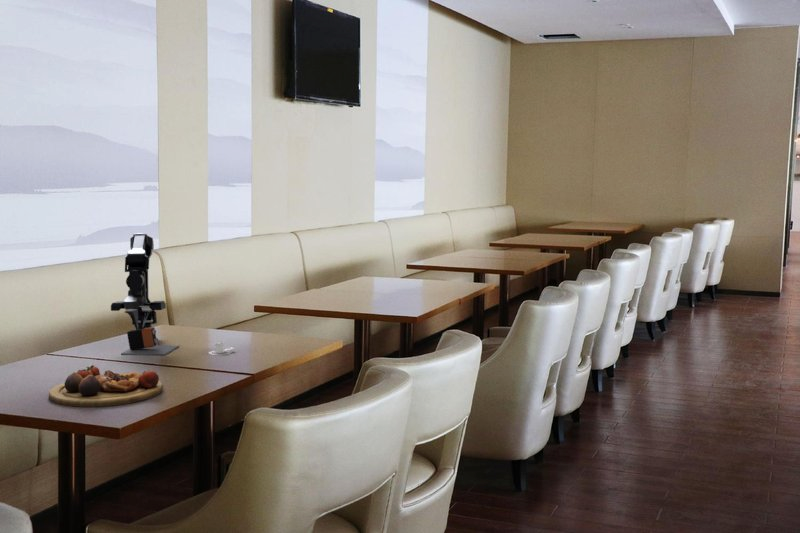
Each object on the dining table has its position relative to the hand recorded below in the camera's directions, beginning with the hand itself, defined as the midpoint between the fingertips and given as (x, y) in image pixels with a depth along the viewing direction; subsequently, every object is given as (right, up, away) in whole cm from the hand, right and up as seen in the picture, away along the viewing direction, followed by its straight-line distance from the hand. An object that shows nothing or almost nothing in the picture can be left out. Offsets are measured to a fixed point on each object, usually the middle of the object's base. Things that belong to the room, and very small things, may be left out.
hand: (139, 329), depth 327 cm
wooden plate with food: (+9, -15, -62) cm, 65 cm away
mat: (+4, -8, +1) cm, 9 cm away
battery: (-4, -4, +1) cm, 6 cm away
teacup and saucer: (+32, -9, -4) cm, 34 cm away
